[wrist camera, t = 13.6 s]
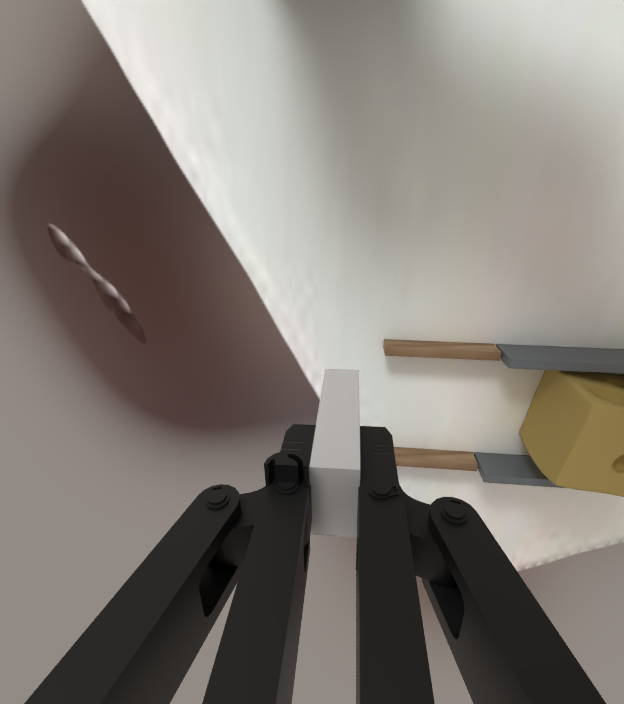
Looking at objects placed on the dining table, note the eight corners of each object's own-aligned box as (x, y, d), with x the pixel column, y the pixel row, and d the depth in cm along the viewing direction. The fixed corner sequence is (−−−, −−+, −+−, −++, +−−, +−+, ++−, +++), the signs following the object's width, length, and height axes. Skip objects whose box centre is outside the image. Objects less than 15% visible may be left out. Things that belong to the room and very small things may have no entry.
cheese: (635, 374, 45) (708, 421, 36) (594, 450, 49) (651, 510, 40) (544, 358, 45) (593, 400, 36) (512, 435, 49) (548, 491, 40)
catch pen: (496, 344, 45) (510, 359, 41) (654, 350, 44) (685, 367, 39) (473, 458, 51) (483, 482, 47) (611, 467, 50) (634, 492, 45)
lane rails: (384, 339, 46) (385, 347, 44) (493, 344, 45) (501, 352, 43) (374, 452, 52) (375, 464, 50) (471, 458, 51) (476, 471, 49)
